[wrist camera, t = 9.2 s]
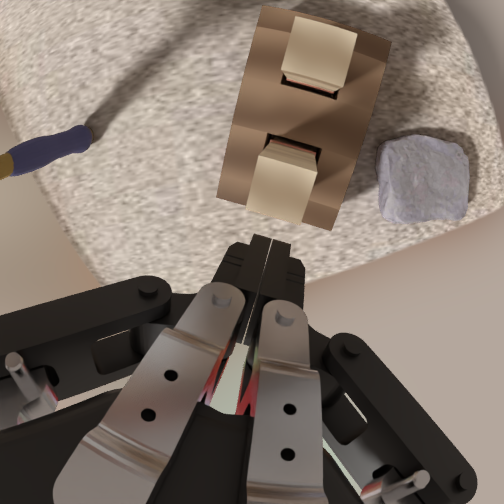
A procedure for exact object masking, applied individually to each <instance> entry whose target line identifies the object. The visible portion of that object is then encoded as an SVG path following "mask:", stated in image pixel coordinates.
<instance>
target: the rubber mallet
mask: <svg viewBox="0 0 504 504" xmlns="http://www.w3.org/2000/svg"><path fill="white" fill-rule="evenodd" d="M92 141H93V132H92V130H91V129H90V128H89V127H86V126H84V125H77V126H74V127H73V128H71V129H70V130H67V131H64V132H61V133H58V134H54V135H50V136H41V137H37V138H34V139H31V140H28V141H26V142H23V143H21V144H19V145H17V146H15V147H13V148H11V149H10V150H9V151H8V152H6V153H5V154H2V155H0V180H2V179H4V178H6V177H8V176H18V175H22V174H25V173H28V172H32V171H34V170H37V169H39V168H42V167H44V166H46V165H47V164H49V163H51V162H52V161H54V160H56V159H58V158H61V157H64V156H66V155H69V154H72V153H82V152H84V151H86V150H87V149H88V148H89V147H90V145H91V143H92Z"/></svg>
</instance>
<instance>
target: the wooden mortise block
mask: <svg viewBox="0 0 504 504" xmlns="http://www.w3.org/2000/svg"><path fill="white" fill-rule="evenodd" d="M295 16H297V17H301V18H305V19H310V20H313V21H317V22H321V23H325V24H328V25H332V26H335V27H338V28H341V29H345V30H348V31H351V32H354V33H356V34H357V38H356V42H355V45H354V49H353V53H352V57H351V60H350V64H349V68H348V71H347V75H346V79H345V82H344V86H343V88H340V89H338V90H336V91H334V93H329V94H326V93H323V92H319V91H316V90H313V89H309V88H306V87H302V86H299V85H295V84H291V83H290V81H288V80H286V79H287V77H286V76H285V74H284V73H283V71H282V70H281V67H282V64H283V60H284V56H285V53H286V49H287V45H288V42H289V38H290V34H291V31H292V27H293V23H294V20H295ZM391 43H392V42H390V41H388V40H386V39H383V38H381V37H378V36H376V35H373V34H370V33H368V32H365V31H362V30H359V29H356V28H354V27H351V26H348V25H344V24H341V23H338V22H335V21H331V20H328V19H324V18H321V17H317V16H313V15H309V14H305V13H301V12H296V11H292V10H287V9H282V8H276V7H271V6H265V5H262V9H261V12H260V16H259V19H258V23H257V26H256V30H255V33H254V37H253V41H252V44H251V48H250V52H249V56H248V60H247V63H246V67H245V71H244V75H243V79H242V83H241V87H240V91H239V96H238V100H237V104H236V108H235V112H234V117H233V121H232V125H231V130H230V134H229V139H228V143H227V148H226V153H225V157H224V162H223V167H222V171H221V176H220V181H219V186H218V191H217V196H216V198H220V199H224V200H227V201H231V202H235V203H238V204H242V205H245V206H246V204H247V200H248V196H249V192H250V188H251V184H252V180H253V176H254V172H255V168H256V164H257V160H258V156H259V154H260V153H261V152H262V151H263V150H264V149H265V148H266V147H267V146H268V144H269V143H270V140H271V139H272V140H273V139H274V138H275V137H276V136H277V135H278V136H281V137H285V138H288V139H292V140H295V141H299V142H302V143H306V144H309V145H312V146H313V148H314V152H316V155H315V160H316V167H317V175H316V178H315V182H314V185H313V188H312V191H311V194H310V197H309V200H308V203H307V206H306V209H305V212H304V215H303V218H302V221H301V222H303V223H307V224H310V225H313V226H316V227H319V228H323V229H326V230H329V231H331V230H332V228H333V225H334V223H335V220H336V217H337V215H338V212H339V209H340V207H341V204H342V201H343V199H344V196H345V193H346V190H347V187H348V185H349V182H350V179H351V176H352V173H353V170H354V168H355V165H356V162H357V159H358V156H359V153H360V150H361V147H362V144H363V141H364V138H365V134H366V131H367V128H368V125H369V122H370V119H371V115H372V112H373V109H374V105H375V102H376V98H377V95H378V92H379V88H380V85H381V81H382V77H383V74H384V70H385V66H386V62H387V59H388V55H389V51H390V47H391Z"/></svg>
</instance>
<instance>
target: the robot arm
mask: <svg viewBox="0 0 504 504" xmlns="http://www.w3.org/2000/svg"><path fill="white" fill-rule="evenodd" d="M271 240H272V239H271V238H268V237H264V236H261V235H257V234H254V235H253V237H252V240H251V242H250V245H247V244H244V243H240V242H236V243H234V244H233V245H231V246H229V248H228V250H227V252H226V254H225V256H224V258H223V260H222V262H221V263H220V265H219V267H218V269H217V271H216V273H215V275H214V277H213V279H212V281H211V283H209V284H206V285H204V286H203V287H202V288H201V289H200V290H199V292H198V293H195V294H178V293H172V290H171V287H170V285H169V284H168V283H167V282H166V281H165V280H163V279H161V278H159V277H155V276H139V277H135V278H132V279H128V280H125V281H121V282H117V283H114V284H110V285H107V286H103V287H99V288H96V289H92V290H89V291H85V292H82V293H78V294H74V295H71V296H67V297H64V298H60V299H57V300H54V301H50V302H46V303H42V304H39V305H35V306H32V307H29V308H25V309H21V310H18V311H14V312H11V313H8V314H4V315H1V316H0V504H466V503H468V502H469V501H470V500H471V499H472V498H473V496H474V495H475V493H476V489H477V476H476V473H475V471H474V469H473V468H472V467H471V466H470V464H469V463H468V462H467V461H466V459H465V458H464V457H463V456H462V454H461V453H460V452H459V451H458V449H457V448H456V447H455V446H454V445H453V443H452V442H451V441H450V440H449V439H448V438H447V436H446V435H445V434H444V433H443V431H442V430H441V429H440V428H439V427H438V426H437V424H436V423H435V422H434V421H433V420H432V419H431V417H430V416H429V415H428V414H427V413H426V411H425V410H424V409H423V408H422V407H421V406H420V404H419V403H418V402H417V401H416V400H415V399H414V398H413V396H412V395H411V394H410V393H409V392H408V391H407V389H406V388H405V387H404V386H403V385H402V384H401V382H400V381H399V380H398V379H397V378H396V377H395V376H394V374H392V372H391V371H390V370H389V369H388V368H387V367H386V365H385V364H384V363H383V362H382V361H381V360H380V359H379V357H378V356H377V355H376V354H375V353H374V352H373V351H372V350H371V348H370V347H369V346H367V344H366V343H365V342H364V341H363V340H362V339H360V338H359V337H357V336H355V335H353V334H349V333H338V334H336V335H334V336H333V337H332V338H331V339H330V338H328V337H326V336H324V335H322V334H320V333H318V332H317V331H315V330H314V329H313V328H312V327H311V326H309V324H308V319H307V316H306V314H305V312H304V311H303V302H304V284H305V279H304V278H305V267H304V265H303V264H302V262H301V260H299V259H295V258H292V257H289V256H290V249H291V244H288V243H285V242H282V241H278V240H275V239H273V241H272V245H271V248H270V251H269V247H270V243H271ZM268 251H269V255H268ZM267 255H268V258H267ZM266 259H267V261H266ZM265 262H266V264H265ZM264 266H265V268H264ZM263 270H264V271H263ZM261 277H262V278H261ZM255 299H256V300H255ZM254 302H255V303H254ZM253 305H254V307H253ZM252 308H253V311H252ZM251 312H252V314H251ZM250 315H251V318H250ZM249 318H250V322H249V325H248V329H247V333H246V337H245V340H244V345H248V346H249V349H248V353H247V356H246V359H245V362H244V365H243V372H242V378H241V384H240V390H239V396H238V402H237V408H236V412H235V415H231V414H223V413H221V412H219V411H217V410H215V409H213V408H212V407H210V406H209V405H210V402H211V400H212V397H213V395H214V393H215V390H216V388H217V386H218V383H219V381H220V379H221V376H222V374H223V372H224V369H225V367H226V365H227V362H228V360H229V356H230V355H231V354H232V352H233V350H234V347H235V343H236V342H237V343H240V344H241V343H242V340H243V337H244V334H245V331H246V328H247V324H248V321H249ZM128 329H129V330H128ZM126 330H128V331H126ZM122 331H126V332H123V333H120V334H117V333H119V332H122ZM114 334H117V335H114ZM111 335H114V336H111ZM108 336H111V337H108ZM105 337H108V338H105ZM102 338H105V339H102ZM99 339H102V340H99ZM97 340H99V341H97ZM129 375H132V376H131V377H130V379H129V380H128V382H127V383H126V384H125V386H124V387H123V388H121V389H114V390H111V391H107V392H104V393H101V394H99V395H97V396H94V397H92V398H89V399H87V400H84V401H82V402H79V403H77V404H74V405H71V406H69V407H66V408H64V409H61V410H58V411H56V412H54V411H55V409H56V407H57V404H58V401H60V400H63V399H66V398H69V397H72V396H75V395H78V394H81V393H84V392H86V391H89V390H92V389H95V388H98V387H100V386H103V385H106V384H108V383H111V382H113V381H116V380H119V379H121V378H124V377H127V376H129ZM345 392H346V393H347V394H348V396H349V397H350V398H351V400H352V401H353V402H354V403H355V405H356V406H357V407H358V408H359V410H360V411H361V412H362V414H363V415H364V416H365V418H366V419H367V423H368V424H367V423H366V422H365V421H364V419H363V418H362V417H361V415H360V414H359V413H358V412H357V410H356V409H355V408H354V407H353V405H352V404H351V403H350V402H349V400H348V399H347V398H346V396H345V395H344V394H345ZM322 437H323V438H324V439H325V441H326V442H327V443H328V445H329V446H330V448H331V449H332V450H333V452H334V453H335V455H336V456H337V457H338V459H339V460H340V461H341V463H342V464H343V466H344V467H345V468H346V470H347V471H348V472H349V474H350V475H351V476H352V477H353V479H354V480H355V481H356V483H357V484H358V485H359V487H360V488H361V489H362V491H361V495H360V496H359V495H358V494H357V492H356V491H355V489H354V488H353V486H352V485H351V484H350V482H349V481H348V479H347V478H346V476H345V475H344V474H343V472H342V471H341V469H340V468H339V466H338V465H337V463H336V462H335V460H334V459H333V458H332V456H331V455H330V454H329V453H328V452H327V451H326V450H325V449H324V448H323V443H322V442H323V441H322Z"/></svg>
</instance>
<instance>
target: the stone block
mask: <svg viewBox="0 0 504 504" xmlns="http://www.w3.org/2000/svg"><path fill="white" fill-rule="evenodd" d="M375 169H376V173H377V180H378V182H379V208H380V211H381V214H382V217H383V218H385V219H387V221H390V222H392V223H402V224H409V223H419V222H426V221H430V220H436V219H449V220H461V219H462V218H463V217H464V216H465V214H466V211H467V209H468V192H469V180H470V174H469V161H468V157H467V156H466V155H465V154H464V153H463V148H462V147H460V146H459V145H458V144H457V143H454V142H448V141H444V140H440V139H438V138H433V137H430V136H424V135H418V134H413V135H407V136H401V137H399V138H396V139H394V140H387V141H385V142H383V143H382V144H381V145H380V146H379V147H378V149H377V158H376V163H375Z"/></svg>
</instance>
